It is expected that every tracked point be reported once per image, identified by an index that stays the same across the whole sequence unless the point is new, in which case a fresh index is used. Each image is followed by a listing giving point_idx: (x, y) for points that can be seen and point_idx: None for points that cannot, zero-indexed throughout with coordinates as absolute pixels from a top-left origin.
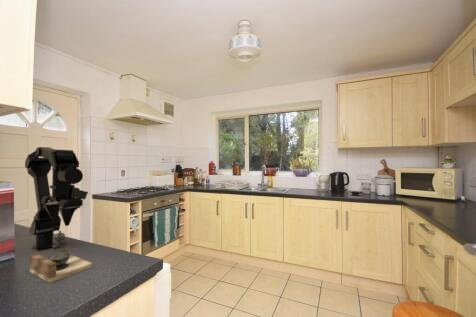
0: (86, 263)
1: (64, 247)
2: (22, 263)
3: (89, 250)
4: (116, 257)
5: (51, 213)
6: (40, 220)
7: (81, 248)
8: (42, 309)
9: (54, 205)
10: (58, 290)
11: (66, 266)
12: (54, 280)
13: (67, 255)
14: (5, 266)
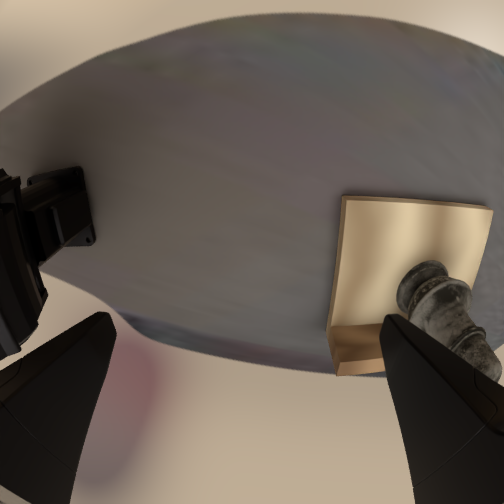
0: (479, 221)
1: (475, 325)
2: (212, 321)
3: (311, 84)
4: (490, 106)
5: (79, 426)
6: (19, 347)
7: (231, 92)
8: (499, 343)
9: (16, 479)
10: (489, 314)
11: (445, 275)
12: None
13: (467, 296)
14: (197, 350)
